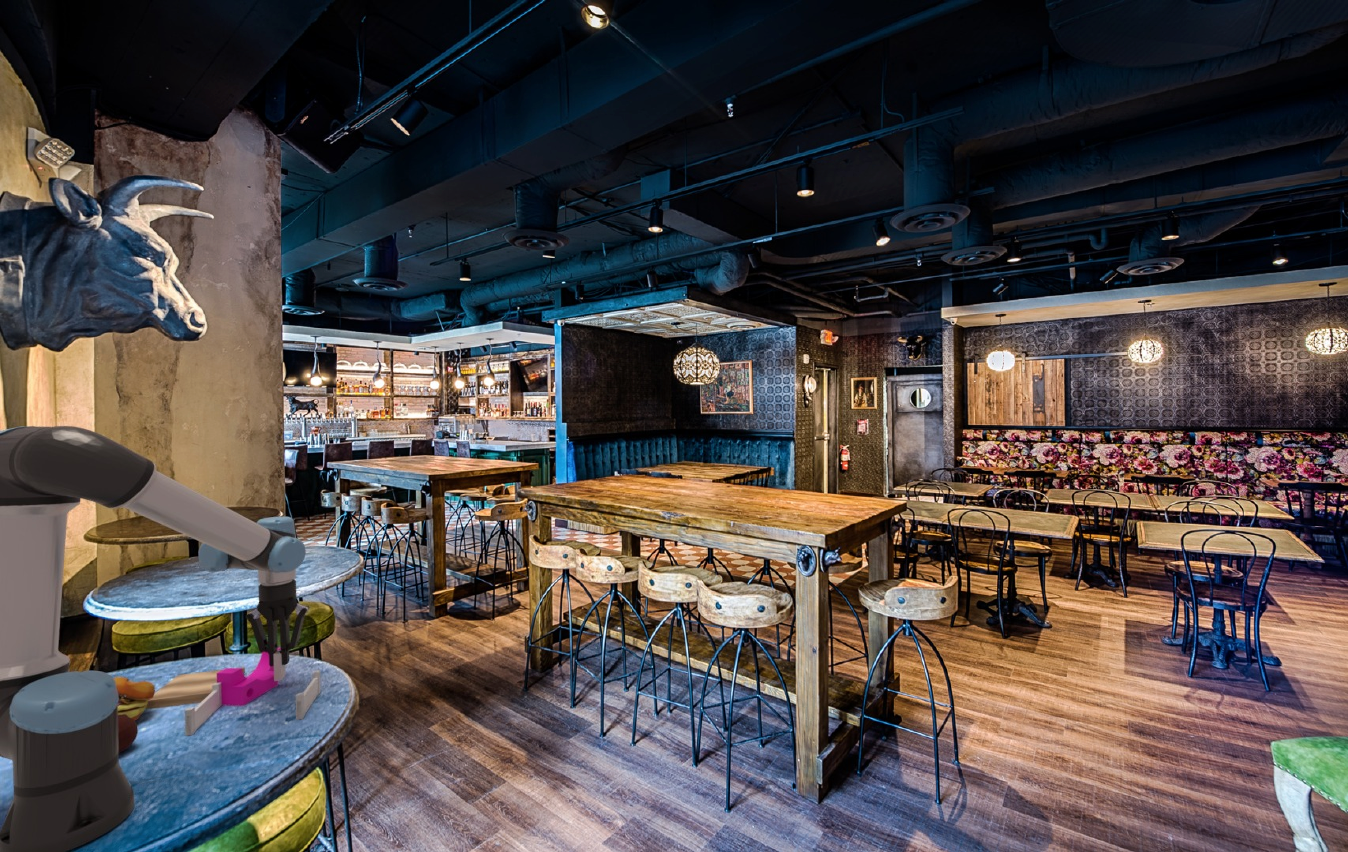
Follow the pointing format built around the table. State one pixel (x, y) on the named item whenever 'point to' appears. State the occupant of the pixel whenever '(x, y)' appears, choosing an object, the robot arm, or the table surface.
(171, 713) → the table surface
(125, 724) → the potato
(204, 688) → the board
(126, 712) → the cheeseburger
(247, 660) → the table surface
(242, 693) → the toy block
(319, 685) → the grey bracket pieces
